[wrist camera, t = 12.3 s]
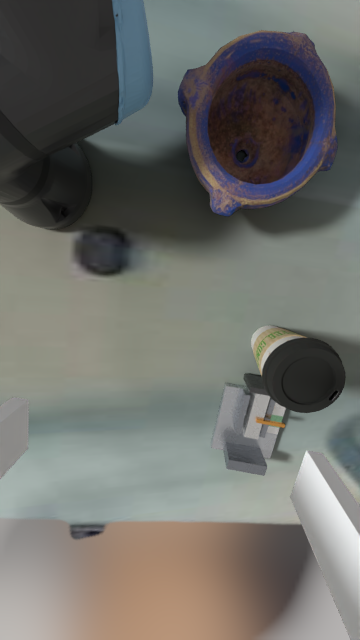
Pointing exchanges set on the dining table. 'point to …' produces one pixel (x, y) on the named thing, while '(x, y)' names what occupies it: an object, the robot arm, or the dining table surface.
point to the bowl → (259, 119)
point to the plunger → (256, 408)
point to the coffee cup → (297, 369)
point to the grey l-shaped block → (230, 436)
